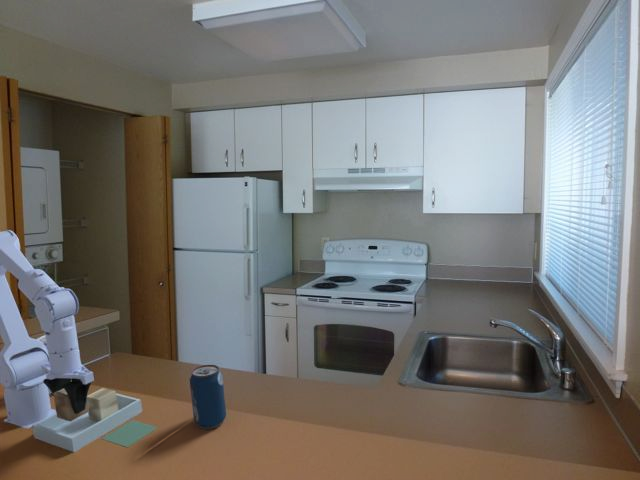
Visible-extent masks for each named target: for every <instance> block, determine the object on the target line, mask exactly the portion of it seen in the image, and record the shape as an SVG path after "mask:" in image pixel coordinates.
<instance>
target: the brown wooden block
mask: <svg viewBox="0 0 640 480" xmlns="http://www.w3.org/2000/svg"><path fill="white" fill-rule="evenodd" d="M53 394H54V396H53V400H54V406H55V410H56V413H57V418H60V419H64V420H67V421H70V422H71V421H72V420H74V419H76V418H78V417H80V416H82V415H84V414H86V413H87V412H89V408H88V401H87V399H86V406H85V410H83V411H81V412H79V413H78V414H75V413H74V411H73V409H72V405H71V401H70V398H69V396H68V394H67V392H66V391H65V389H64V388H63V389H61V390H59V391H57V392H55V393H53ZM53 394H52V395H53Z"/></svg>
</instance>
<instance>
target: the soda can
mask: <svg viewBox="0 0 640 480" xmlns="http://www.w3.org/2000/svg"><path fill="white" fill-rule="evenodd" d="M189 387H190V397H191V407H192V415H193V421H194V423H195V424H196V425H197V426H198V427H199V428H201V429H204V430H210V429H215V428H217V427H219V426H221V425H222V424H223V423H224V421H225V419H226V417H227V409H226V408H227V406H226V398H225V387H224V377H223V373H222V372H221V371H220V368H219V366H217V365H215V364H204V365H200V366H198V367H195V368H194V369H192V370H191V376H190V378H189ZM214 427H215V428H214Z"/></svg>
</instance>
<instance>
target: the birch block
mask: <svg viewBox="0 0 640 480" xmlns="http://www.w3.org/2000/svg"><path fill="white" fill-rule="evenodd" d="M116 393H117V392H116V390H112V389H109V388H105V387H102V388H99V389H98V390H96V391H94V392H92V393H90V394H87V401H88V408H89V412H88V414H89V419H90V420H93V421H97V422H99V421H101V420H103V419H105V418H106V417H108V416H110V415H112V414H114V413H115V412H117V411H118V404H117V397H116Z"/></svg>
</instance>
